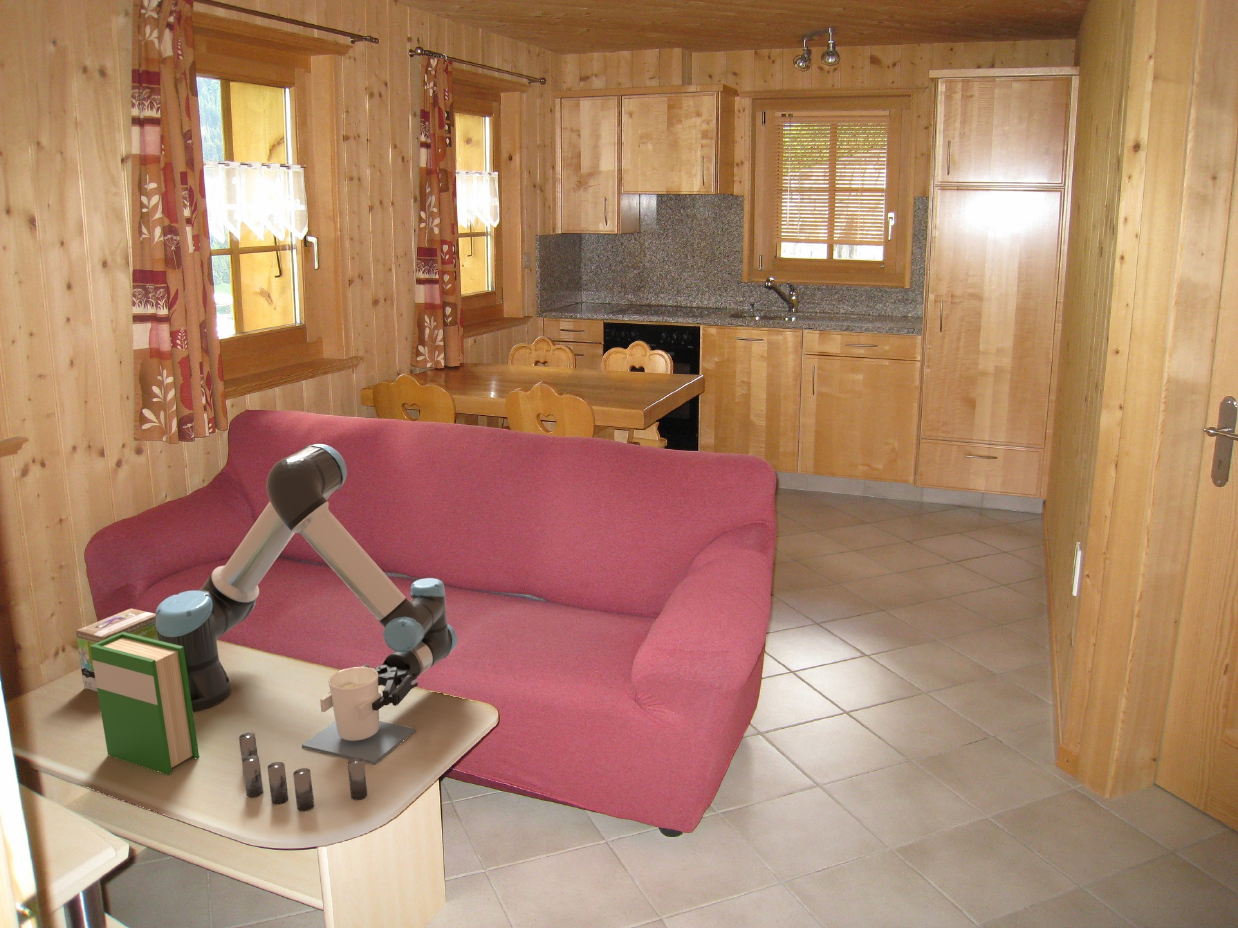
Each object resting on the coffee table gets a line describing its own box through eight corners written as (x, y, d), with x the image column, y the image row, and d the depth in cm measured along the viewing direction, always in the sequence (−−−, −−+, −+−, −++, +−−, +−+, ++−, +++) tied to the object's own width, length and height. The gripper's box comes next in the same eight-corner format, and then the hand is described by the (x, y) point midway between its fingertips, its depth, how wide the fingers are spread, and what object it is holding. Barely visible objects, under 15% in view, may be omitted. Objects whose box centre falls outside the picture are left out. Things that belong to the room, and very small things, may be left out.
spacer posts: (214, 788, 190) (210, 754, 188) (250, 763, 199) (246, 731, 197) (337, 820, 179) (334, 785, 177) (370, 792, 187) (367, 759, 186)
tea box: (113, 696, 228) (103, 636, 225) (83, 689, 232) (73, 629, 229) (167, 669, 241) (159, 612, 238) (138, 662, 246) (129, 606, 242)
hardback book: (199, 756, 202) (183, 646, 196) (168, 775, 195) (151, 661, 189) (139, 738, 209) (123, 631, 204) (108, 755, 203) (89, 645, 197)
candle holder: (338, 720, 211) (333, 668, 208) (386, 717, 211) (381, 665, 208) (329, 744, 201) (323, 689, 198) (379, 741, 202) (374, 686, 199)
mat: (301, 747, 204) (301, 744, 204) (345, 716, 216) (345, 713, 216) (374, 764, 197) (374, 761, 197) (415, 731, 209) (415, 728, 209)
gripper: (449, 686, 217) (386, 736, 197) (368, 671, 226) (300, 717, 206) (447, 654, 215) (383, 701, 195) (366, 640, 224) (296, 683, 204)
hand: (341, 709), depth 200 cm, fingers closed on candle holder, 9 cm apart
